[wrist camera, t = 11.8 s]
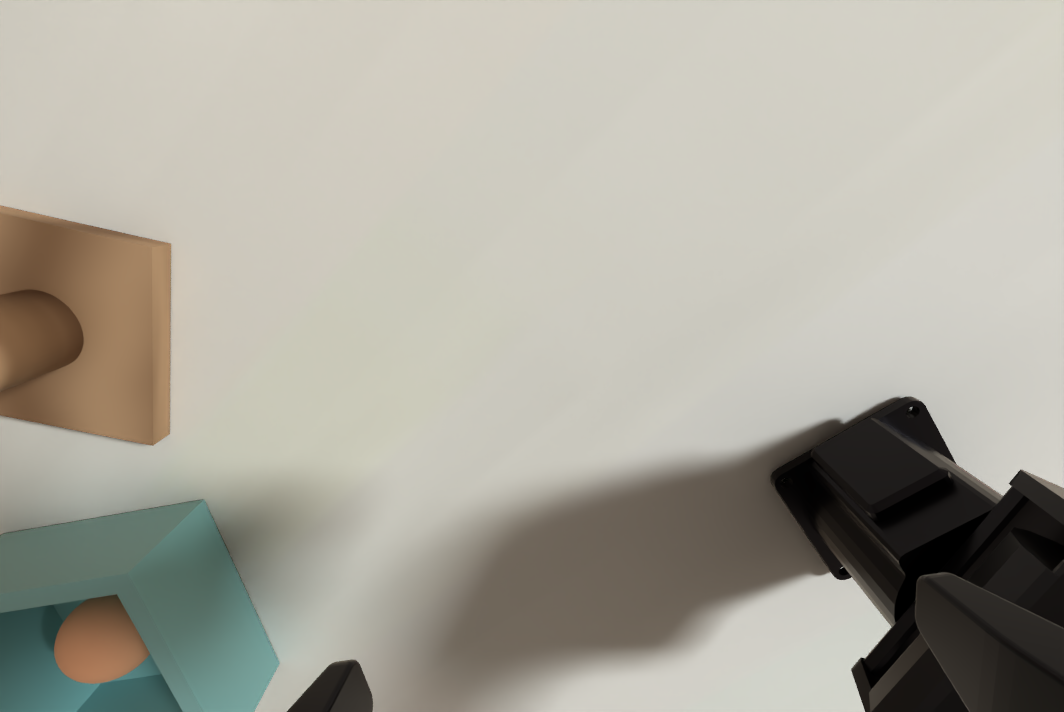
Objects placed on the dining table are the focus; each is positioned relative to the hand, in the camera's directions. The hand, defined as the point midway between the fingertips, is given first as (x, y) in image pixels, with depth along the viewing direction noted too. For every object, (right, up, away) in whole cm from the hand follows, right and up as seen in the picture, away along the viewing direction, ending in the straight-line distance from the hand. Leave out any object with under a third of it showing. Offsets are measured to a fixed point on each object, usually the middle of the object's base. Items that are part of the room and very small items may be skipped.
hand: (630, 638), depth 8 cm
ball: (-20, -7, +16) cm, 26 cm away
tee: (-20, +6, +12) cm, 24 cm away
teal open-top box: (-20, -7, +16) cm, 27 cm away
